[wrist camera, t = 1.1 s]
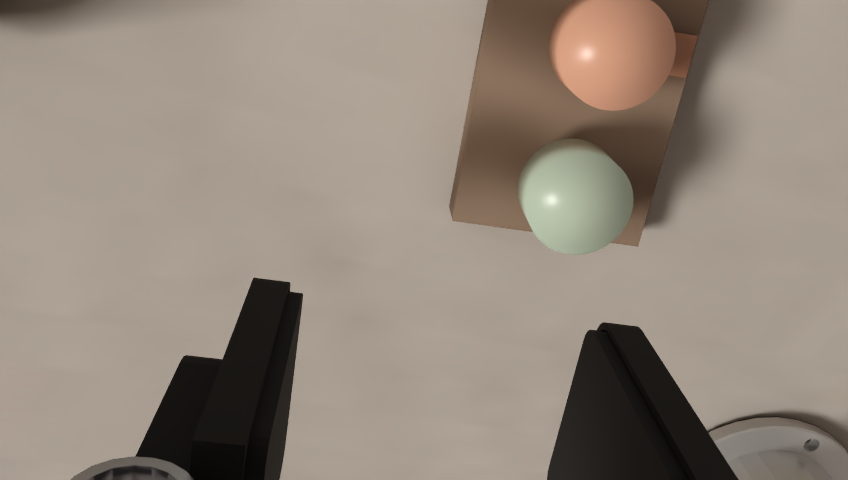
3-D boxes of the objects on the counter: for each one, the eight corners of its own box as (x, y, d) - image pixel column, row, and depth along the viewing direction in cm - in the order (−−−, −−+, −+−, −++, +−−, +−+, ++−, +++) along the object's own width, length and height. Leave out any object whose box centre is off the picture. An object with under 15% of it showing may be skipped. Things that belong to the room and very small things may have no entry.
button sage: (603, 240, 35) (617, 261, 32) (508, 227, 34) (517, 247, 32) (628, 146, 33) (646, 162, 31) (529, 131, 33) (540, 146, 30)
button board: (625, 231, 38) (639, 248, 36) (449, 206, 37) (453, 222, 35) (736, -168, 32) (761, -175, 30) (527, -210, 31) (537, -220, 29)
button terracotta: (639, 105, 32) (657, 118, 30) (538, 89, 32) (550, 101, 30) (668, -2, 31) (690, 3, 29) (562, -20, 30) (576, -17, 28)
